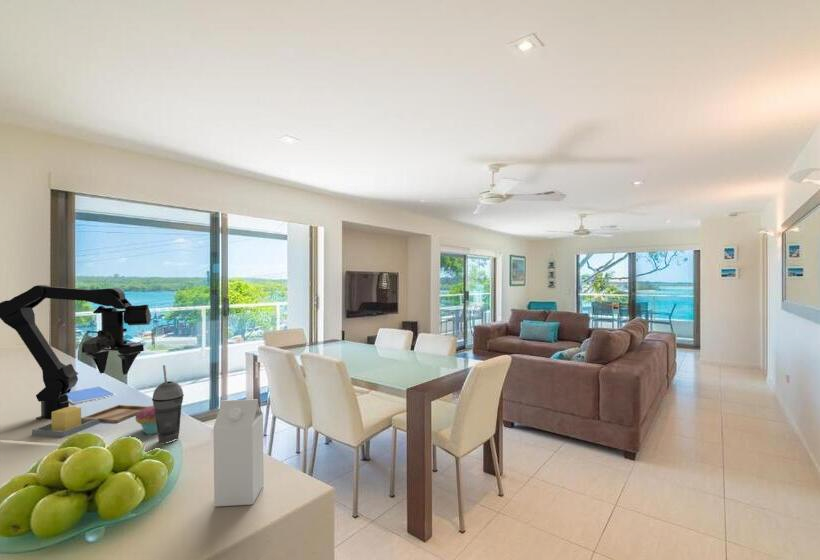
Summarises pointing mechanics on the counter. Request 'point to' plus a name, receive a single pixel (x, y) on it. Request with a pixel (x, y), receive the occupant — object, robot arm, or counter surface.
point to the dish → (48, 430)
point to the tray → (117, 413)
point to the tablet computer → (88, 395)
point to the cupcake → (147, 420)
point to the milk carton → (238, 453)
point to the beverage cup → (168, 409)
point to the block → (66, 418)
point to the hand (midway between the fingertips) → (113, 373)
